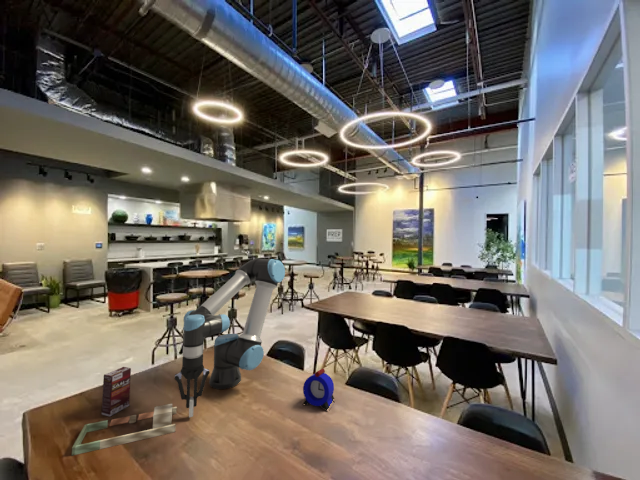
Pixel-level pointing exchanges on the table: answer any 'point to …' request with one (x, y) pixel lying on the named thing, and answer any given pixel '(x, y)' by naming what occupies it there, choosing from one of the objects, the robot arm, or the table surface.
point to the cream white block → (162, 416)
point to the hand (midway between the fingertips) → (191, 414)
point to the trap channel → (119, 439)
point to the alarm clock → (319, 390)
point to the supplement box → (116, 391)
